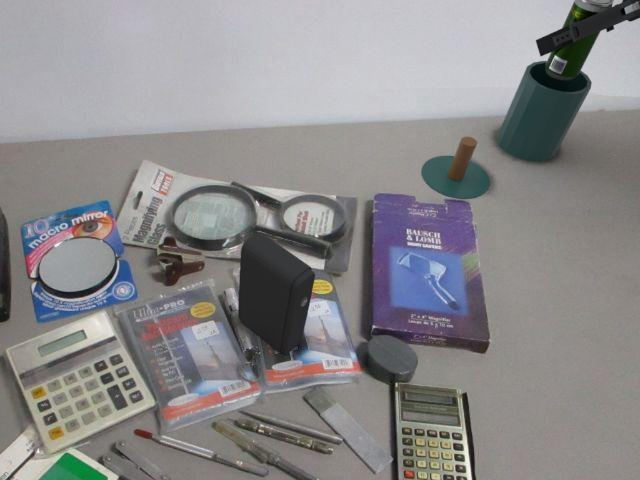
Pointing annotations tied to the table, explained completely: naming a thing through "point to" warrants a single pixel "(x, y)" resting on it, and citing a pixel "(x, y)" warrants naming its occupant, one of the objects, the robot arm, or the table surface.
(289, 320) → the black rectangular block
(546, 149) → the tin
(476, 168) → the tin lid
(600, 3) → the beer can
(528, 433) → the table surface
